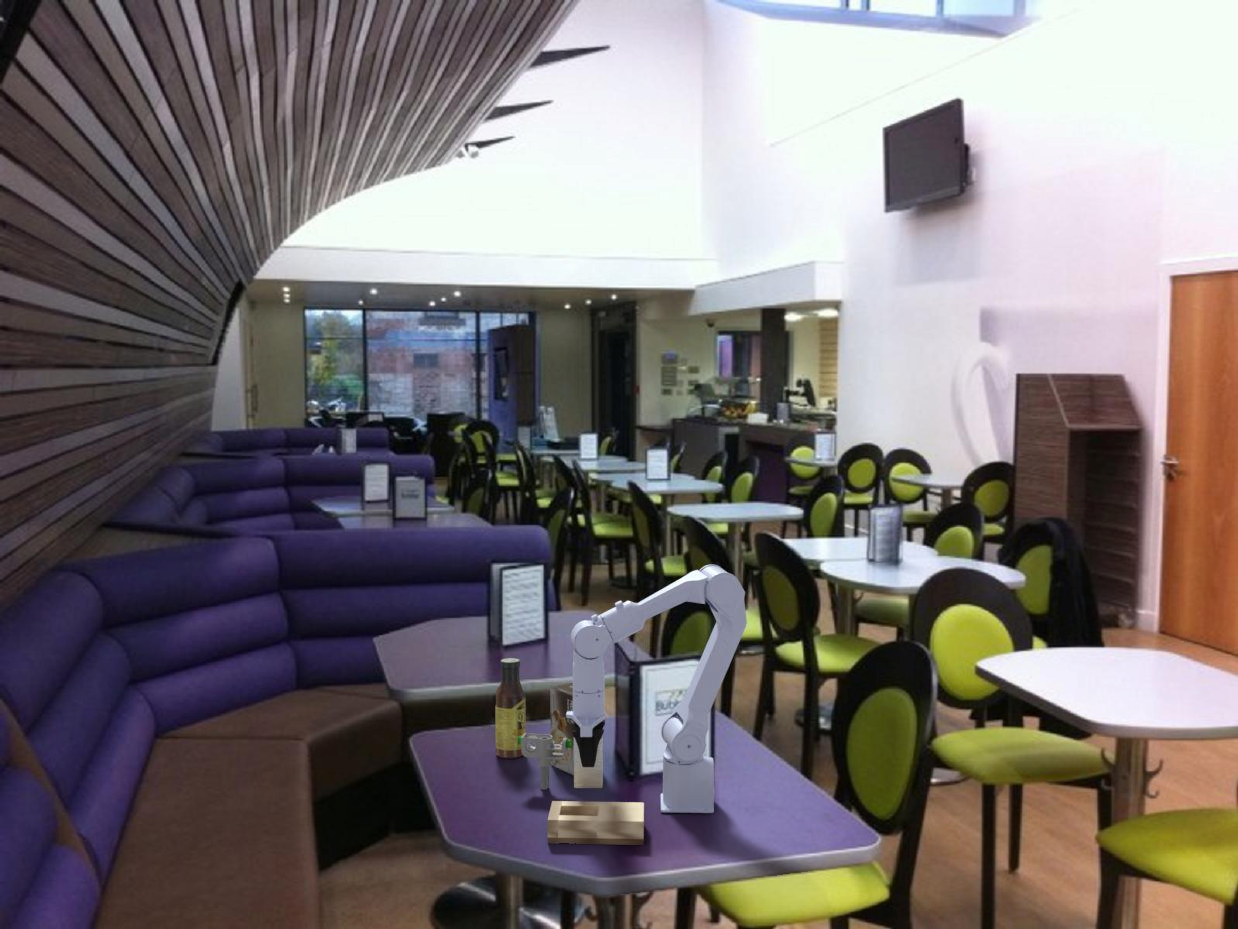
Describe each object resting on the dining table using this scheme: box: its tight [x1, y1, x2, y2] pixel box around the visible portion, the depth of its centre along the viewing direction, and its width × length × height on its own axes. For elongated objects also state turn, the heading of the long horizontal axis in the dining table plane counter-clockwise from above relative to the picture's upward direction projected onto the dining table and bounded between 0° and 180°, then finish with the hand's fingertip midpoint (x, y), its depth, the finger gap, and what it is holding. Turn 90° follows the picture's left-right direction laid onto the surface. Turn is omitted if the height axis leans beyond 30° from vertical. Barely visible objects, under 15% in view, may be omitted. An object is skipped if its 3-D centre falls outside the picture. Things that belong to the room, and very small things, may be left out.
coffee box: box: [549, 682, 575, 776], centre depth 206 cm, size 9×6×16 cm
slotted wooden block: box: [547, 800, 645, 846], centre depth 176 cm, size 16×8×4 cm, turn 88°
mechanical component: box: [518, 732, 572, 791], centre depth 196 cm, size 3×10×10 cm, turn 78°
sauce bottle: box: [494, 657, 527, 759], centre depth 214 cm, size 6×6×20 cm
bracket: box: [573, 734, 604, 789], centre depth 185 cm, size 5×2×9 cm, turn 88°
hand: (588, 763), depth 185 cm, fingers closed on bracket, 2 cm apart
